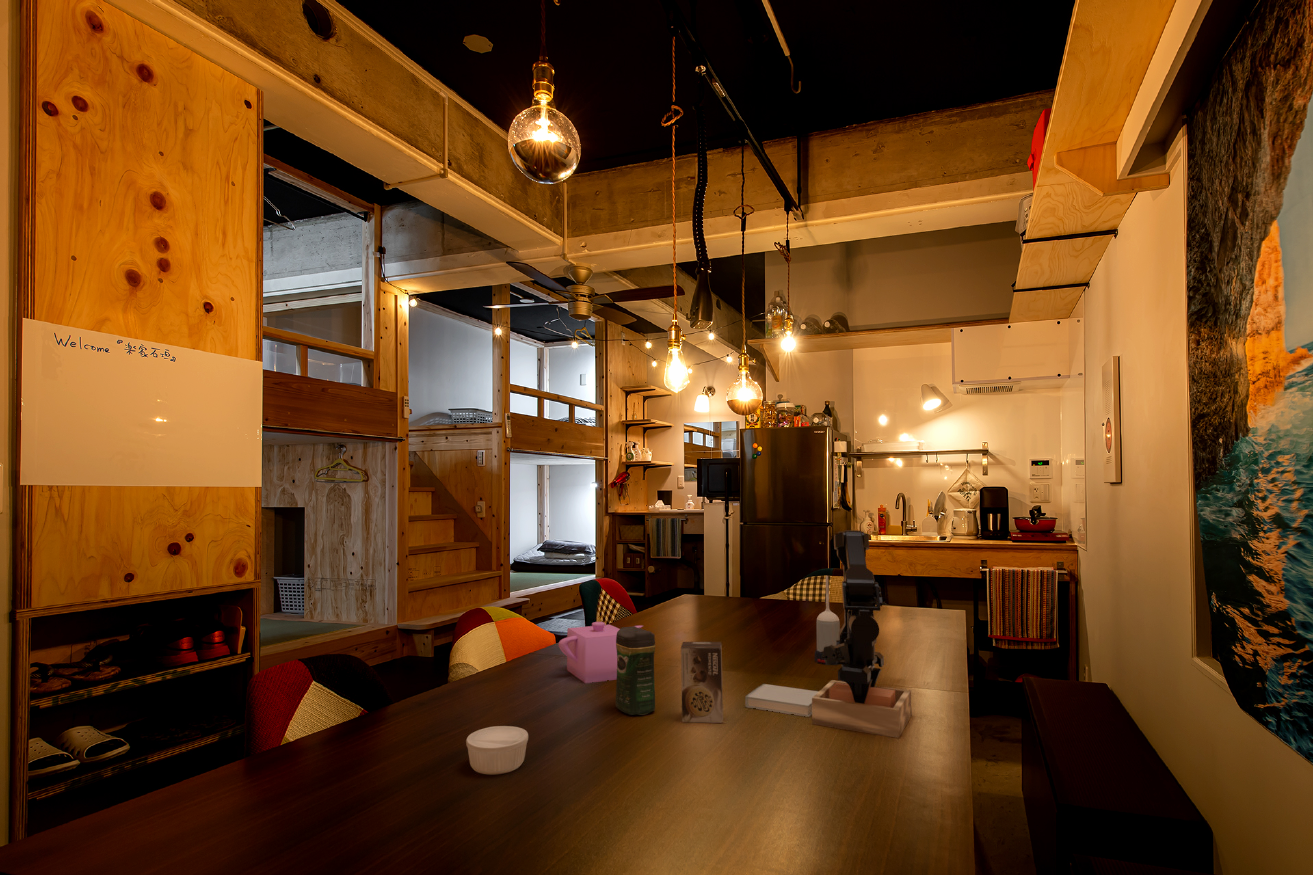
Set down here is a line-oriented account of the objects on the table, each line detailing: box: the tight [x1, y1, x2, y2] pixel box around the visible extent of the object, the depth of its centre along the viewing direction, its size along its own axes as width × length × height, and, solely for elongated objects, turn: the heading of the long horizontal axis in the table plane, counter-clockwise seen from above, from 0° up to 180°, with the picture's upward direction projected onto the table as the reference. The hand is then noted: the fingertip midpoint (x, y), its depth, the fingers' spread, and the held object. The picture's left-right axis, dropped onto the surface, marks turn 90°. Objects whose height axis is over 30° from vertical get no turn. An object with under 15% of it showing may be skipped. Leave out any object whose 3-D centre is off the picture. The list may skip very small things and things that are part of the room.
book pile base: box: [744, 683, 819, 718], centre depth 164 cm, size 12×15×2 cm
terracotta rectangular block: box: [829, 683, 896, 708], centre depth 153 cm, size 6×13×4 cm, turn 61°
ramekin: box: [465, 725, 529, 775], centre depth 128 cm, size 11×11×5 cm
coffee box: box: [680, 641, 724, 724], centre depth 155 cm, size 9×6×16 cm
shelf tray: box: [811, 679, 913, 739], centre depth 153 cm, size 16×18×6 cm
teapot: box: [558, 621, 644, 684], centre depth 193 cm, size 15×25×14 cm, turn 116°
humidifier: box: [814, 575, 841, 666], centre depth 206 cm, size 8×8×25 cm
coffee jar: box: [615, 625, 656, 716], centre depth 161 cm, size 10×8×19 cm
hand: (862, 705), depth 153 cm, fingers closed on terracotta rectangular block, 6 cm apart
